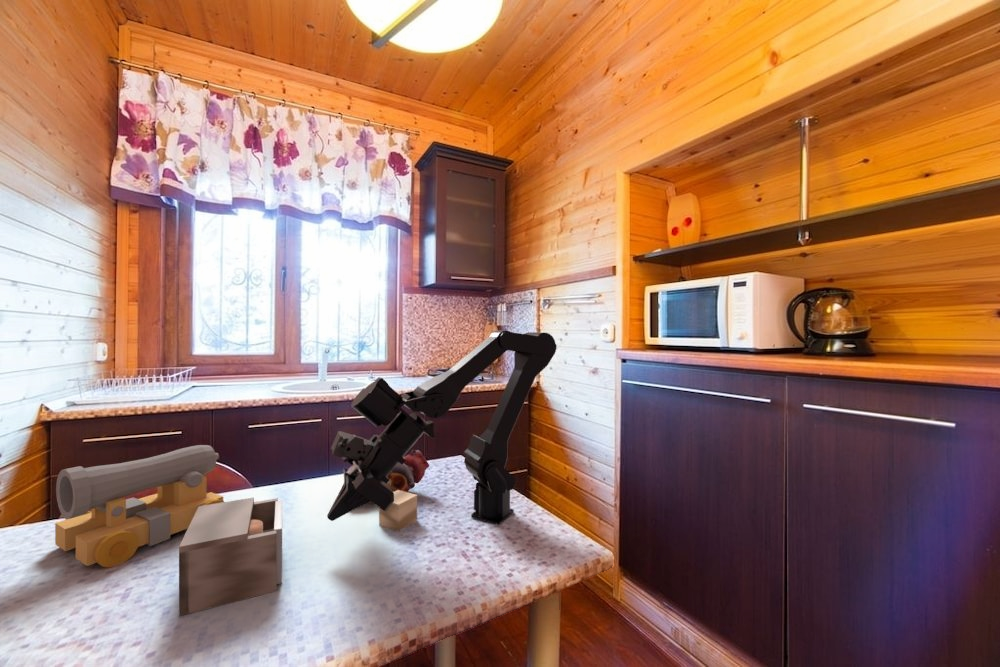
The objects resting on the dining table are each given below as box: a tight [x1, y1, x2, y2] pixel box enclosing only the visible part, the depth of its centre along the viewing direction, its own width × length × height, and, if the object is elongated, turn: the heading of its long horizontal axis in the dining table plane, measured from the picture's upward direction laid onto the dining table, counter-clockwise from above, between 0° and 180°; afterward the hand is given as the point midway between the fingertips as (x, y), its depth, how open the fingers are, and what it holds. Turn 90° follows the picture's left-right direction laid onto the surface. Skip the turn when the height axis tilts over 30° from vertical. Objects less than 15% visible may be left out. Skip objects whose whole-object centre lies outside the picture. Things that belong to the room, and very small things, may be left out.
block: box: [378, 490, 418, 532], centre depth 78 cm, size 5×5×5 cm
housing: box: [178, 497, 279, 617], centre depth 61 cm, size 11×14×9 cm
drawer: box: [263, 499, 283, 585], centre depth 61 cm, size 10×11×8 cm
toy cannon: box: [54, 444, 225, 568], centre depth 74 cm, size 16×22×15 cm
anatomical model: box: [368, 449, 430, 505], centre depth 90 cm, size 11×13×15 cm
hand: (329, 518), depth 67 cm, fingers closed
